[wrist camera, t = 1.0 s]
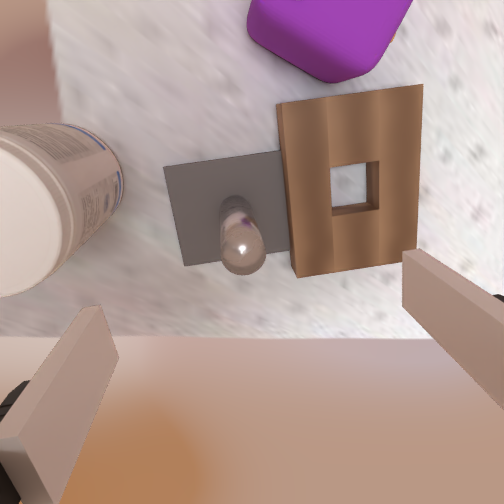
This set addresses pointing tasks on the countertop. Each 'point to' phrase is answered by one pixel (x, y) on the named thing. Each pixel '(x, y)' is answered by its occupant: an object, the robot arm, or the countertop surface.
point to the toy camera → (327, 33)
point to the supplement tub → (50, 198)
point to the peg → (240, 237)
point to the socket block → (346, 153)
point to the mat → (216, 191)
